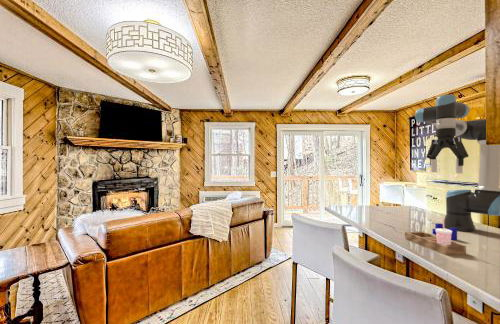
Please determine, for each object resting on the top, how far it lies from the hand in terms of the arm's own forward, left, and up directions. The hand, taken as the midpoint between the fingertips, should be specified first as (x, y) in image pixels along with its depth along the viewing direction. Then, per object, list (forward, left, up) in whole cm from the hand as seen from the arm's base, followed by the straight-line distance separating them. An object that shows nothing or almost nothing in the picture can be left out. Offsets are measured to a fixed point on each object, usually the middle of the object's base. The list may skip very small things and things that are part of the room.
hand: (445, 172), depth 124 cm
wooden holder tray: (+6, -1, -35) cm, 35 cm away
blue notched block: (-13, -14, -35) cm, 40 cm away
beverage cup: (+6, +5, -35) cm, 36 cm away
